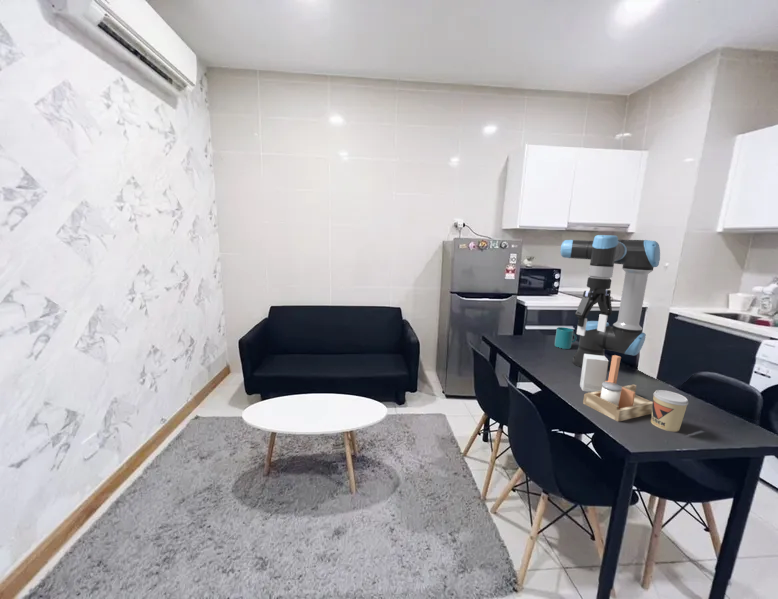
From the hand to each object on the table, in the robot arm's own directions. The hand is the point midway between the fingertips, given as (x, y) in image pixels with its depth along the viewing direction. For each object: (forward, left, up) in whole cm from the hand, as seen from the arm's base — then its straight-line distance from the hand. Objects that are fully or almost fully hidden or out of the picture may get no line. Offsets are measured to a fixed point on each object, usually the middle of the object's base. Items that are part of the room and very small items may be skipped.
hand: (591, 333), depth 129 cm
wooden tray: (-14, +9, -29) cm, 33 cm away
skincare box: (-14, -6, -29) cm, 33 cm away
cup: (-55, -55, -29) cm, 83 cm away
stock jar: (-4, +9, -28) cm, 30 cm away
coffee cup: (-13, +23, -29) cm, 39 cm away
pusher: (-9, +9, -28) cm, 31 cm away
